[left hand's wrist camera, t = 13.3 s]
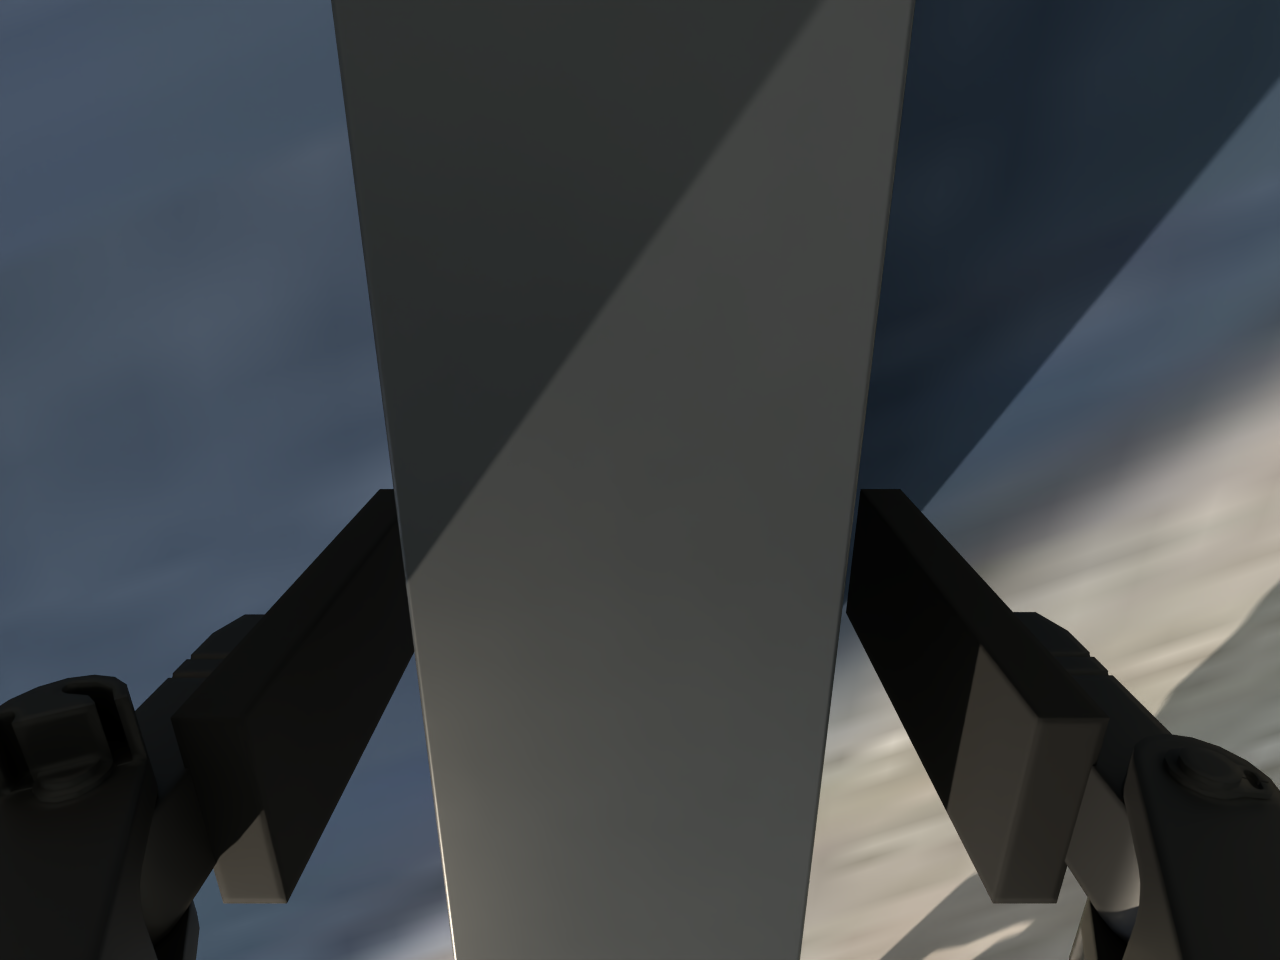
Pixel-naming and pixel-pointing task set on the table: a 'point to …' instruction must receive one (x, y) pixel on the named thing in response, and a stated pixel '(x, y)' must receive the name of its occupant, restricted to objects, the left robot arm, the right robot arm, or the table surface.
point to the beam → (625, 438)
